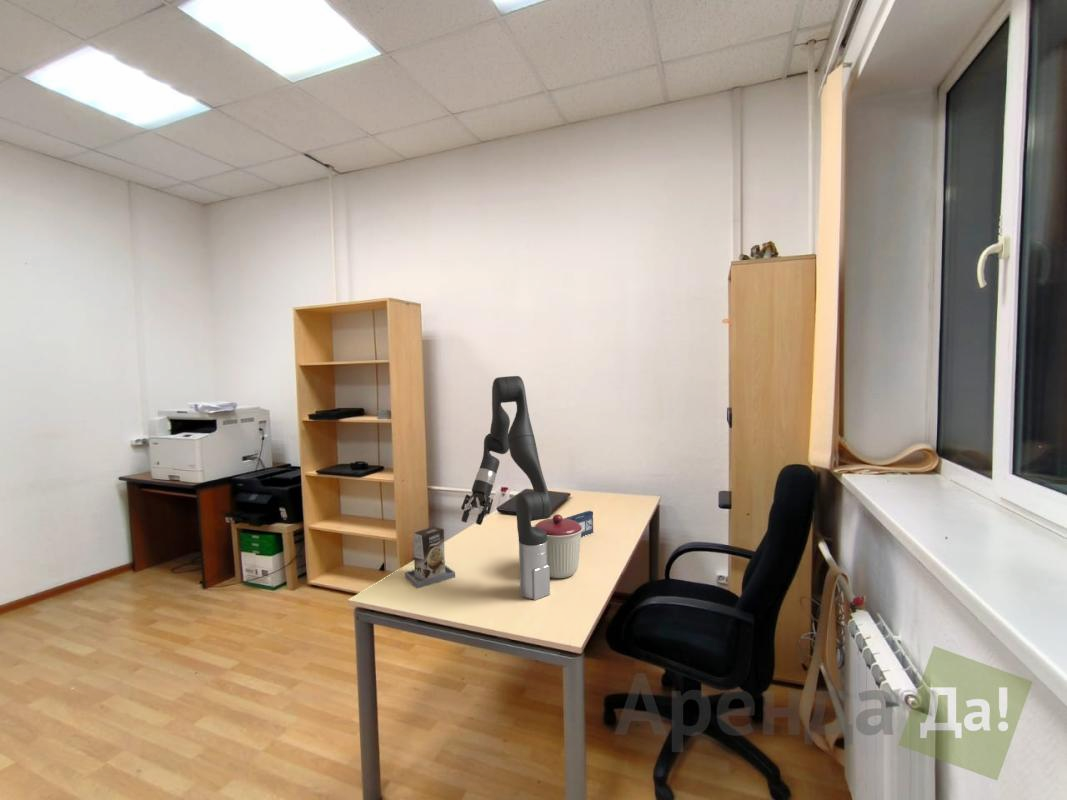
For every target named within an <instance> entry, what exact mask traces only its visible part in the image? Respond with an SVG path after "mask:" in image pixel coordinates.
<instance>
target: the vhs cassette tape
mask: <svg viewBox="0 0 1067 800" xmlns="http://www.w3.org/2000/svg"><path fill="white" fill-rule="evenodd" d="M564 519H570V520H574V521H576V522H578V523H579V524H581V525H582V526H583V531H582V532H581V538H584V537H586V536H585V535H587V536H589V535H588V534H590V535H591V533H593V534H594V511H592V510H586V511H584V512H580V513H576V514H573V515H571V516H567V517H565V518H564ZM583 536H584V537H583Z"/></svg>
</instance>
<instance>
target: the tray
mask: <svg viewBox="0 0 1067 800" xmlns="http://www.w3.org/2000/svg"><path fill="white" fill-rule="evenodd" d="M404 578H405V579H407V580H408V581H409V582H410V583H411V584H412V586H414V587H415V588H416V589H421V588H424V587H426V586H431V585H434V584H438V583H441V582H443V581H446V580H447V581H448V580H450V579H453V578H456V571H454V570H453V569H452V568H450V567H449V566H447V565H446V564H445V573H443V574H441V575H439V576H436V577H434V578H431V579H427V580H421V579H419V578H416V577H415V569H413V570H410V571H409V570H408V571H406V572H404Z"/></svg>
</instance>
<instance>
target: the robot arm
mask: <svg viewBox="0 0 1067 800" xmlns="http://www.w3.org/2000/svg"><path fill="white" fill-rule="evenodd" d="M527 401H528V399H527V395H526V388H525V383H524V381H523V378H522V377H521V376H519V375H512V376H510V375H509V376H500V377H499V376H498V377H495V378H494V380H493V381H492V388H491V411H492V412H491V414H492V415H491V416H492V417H491V425H490V431H489V433H488V434H487V435H485V437H484V439H483V452H482V453H483V455H482V458H481V459H482V460H481V463H480V465H479V468H478V471H477V472H476V474H475V475H476V476H475V478H474V481H473V485H472V487H471V492H472V494H471V495H469V494H466V495H465V496H464V500H463V503H462V504H461V506H460V507H461V508H460V509H461V510H462V511H463V513H462V517H461V522H463V523H467V522H468V519H469V516H470V514H471V511H472V510H475V509H478V512H479V513H478V515H477V518H476V520H475V524H476V525H479V526H481V525H482V524H483V521H484V518H485V516H487V515H489V514H490V512H491V509H492V507H493V506H492V505H493V501H494V499H493V498H491V494H492V490H493V487H494V484H495V482H496V481H495V480H496V476H497V472H498V470H499V468H500V467H499V466H500V460H499V459H498V458H497V457H496V456H493V455H492V454H491V452H493V453H495V454H500V455H505V454H507V453H508V452H509V455H510V457H511V459H512V460H513V462H514V463H515V464H516V466H518V468H519V469H521V471H522V472H523V473H524V474H525V475H526V476H527V478H528V479H529V481H530V484H531V486H532V489H533V491H527V492H525V491H524V492H520V493H518V494H517V496H516V499H515V512H516V513H515V514H516V524H517V525H516V528H517V534H518V564H519V565H518V566H519V592H520V593H519V594H520V596H522V597H523V598H525V599H526V598H527V599H533V600H534V601H536V600H538V599H541V598H545V597H548V596H549V595H551V586H550V585H551V584H550V578H551V577H550V574H549V566H548V561H547V533H546V531H544V530H543V529H540V528H536V527H533V526H532V522H533V521H539V520H540V521H541V520H546V519H549V518H550V517H551V515H552V501H551V497H550V493H549V490H548V487H547V484H546V481H545V478H544V473H543V471H542V467H541V463H540V459H539V452H538V448H537V443H536V437H535V435H534V431H533V427H532V423H531V422H532V421H531V419H530V414H529V409H528V402H527ZM513 402H514V403H515V404H516V412H515V417H514V418H513V422H512V424H511V426H510V423H511V420H510V416H509V414H508V413H507V412H506V410H505V409H504V408H503V406H502V403H503V404H504V403H513Z"/></svg>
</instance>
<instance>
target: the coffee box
mask: <svg viewBox="0 0 1067 800" xmlns="http://www.w3.org/2000/svg"><path fill="white" fill-rule="evenodd" d="M444 530H445V529H444V528H440V527H436V526H429V527H427V528H424V529H420V530H418V531H415V532H413V556H414V557H413V558H414V559H413V560H414V561H413V562H414V565H413V566H414V570H415V577H416V578H419V579H421V580H427V579H431V578H434V577H436V576H439V575H441V574H443V573H445V565H446V560H445V559H446V557H445V556H446V555H445V531H444Z"/></svg>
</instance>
